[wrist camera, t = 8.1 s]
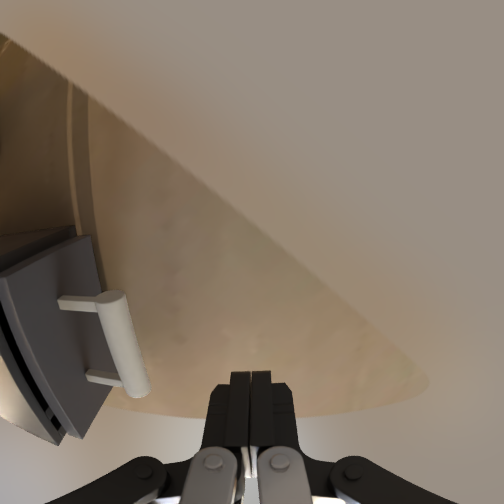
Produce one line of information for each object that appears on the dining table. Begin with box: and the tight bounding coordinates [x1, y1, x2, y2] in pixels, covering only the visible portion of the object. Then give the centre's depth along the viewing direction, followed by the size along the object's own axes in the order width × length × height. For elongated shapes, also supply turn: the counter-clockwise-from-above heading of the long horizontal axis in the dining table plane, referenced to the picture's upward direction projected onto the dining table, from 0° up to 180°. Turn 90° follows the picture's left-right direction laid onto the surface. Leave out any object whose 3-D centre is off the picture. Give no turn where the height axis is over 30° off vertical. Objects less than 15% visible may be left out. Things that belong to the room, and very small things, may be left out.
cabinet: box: [0, 225, 76, 446], centre depth 14 cm, size 14×12×10 cm
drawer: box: [0, 235, 151, 439], centre depth 14 cm, size 17×10×8 cm, turn 93°
